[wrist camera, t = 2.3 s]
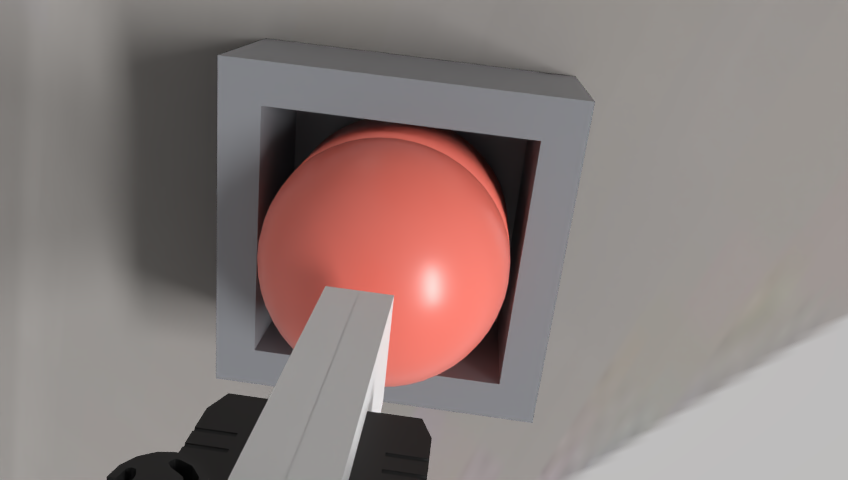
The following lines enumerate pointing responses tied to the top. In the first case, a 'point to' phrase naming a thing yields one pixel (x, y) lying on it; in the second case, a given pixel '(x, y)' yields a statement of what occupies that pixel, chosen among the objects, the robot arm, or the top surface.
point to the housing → (416, 105)
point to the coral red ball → (392, 240)
